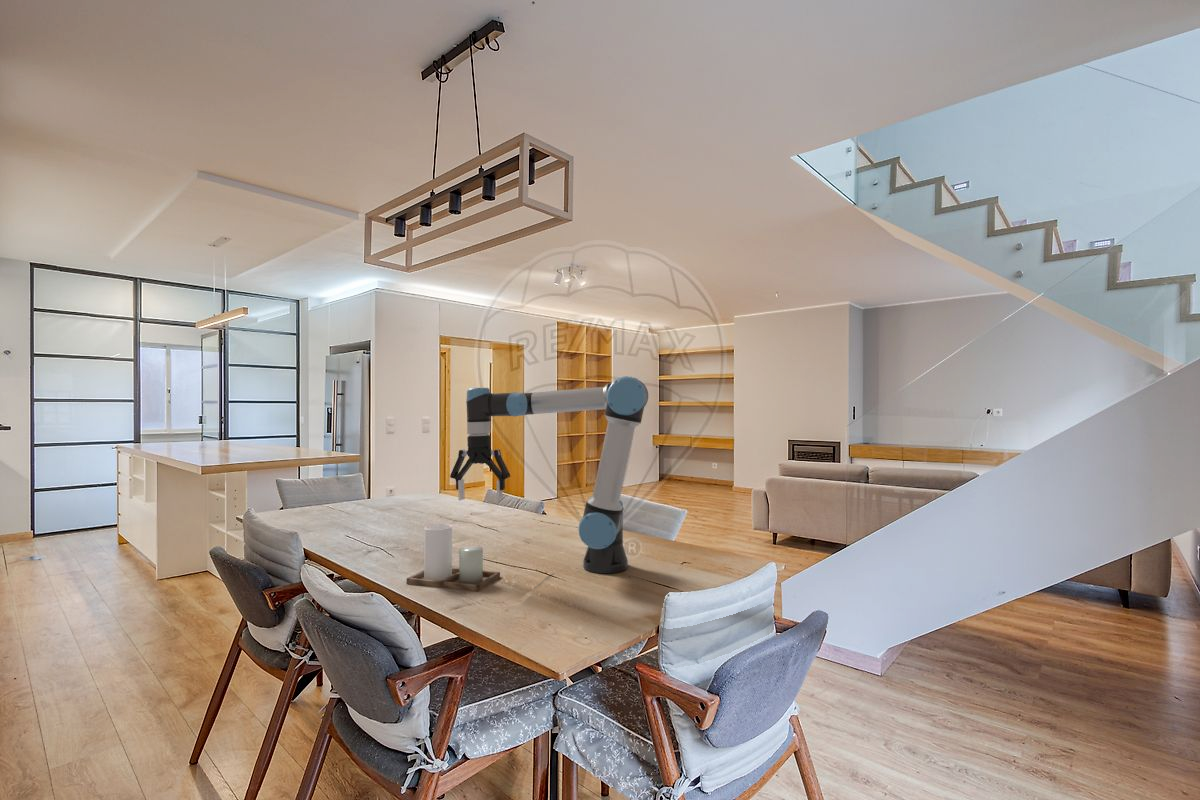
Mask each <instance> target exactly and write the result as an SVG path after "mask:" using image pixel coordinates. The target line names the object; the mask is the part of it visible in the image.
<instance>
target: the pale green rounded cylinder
mask: <svg viewBox="0 0 1200 800" xmlns="http://www.w3.org/2000/svg"><path fill="white" fill-rule="evenodd" d="M458 552H459V555H458V561H459V562H458V565H459V566H458V568H459V583H465V584H475V585H477V584H479V583H481V582H482V581H483V571H484V565H483V564H484V548H483V547H482V546H479V545H478V546H477V545H469V546H464V547H460V548H459V550H458Z"/></svg>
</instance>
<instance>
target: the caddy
mask: <svg viewBox="0 0 1200 800" xmlns="http://www.w3.org/2000/svg"><path fill="white" fill-rule="evenodd" d="M499 578H501V572H500V571H493V570H483V581H482V582H481V583H479V584H477V585H475V584H465V583H459V567H452V576H450V577H449V578H447V579H445V580H443V581H436V580H427V579H424V569H423V570H421V571H419V572H418V573H415V574H413V575H412V576H409V577H407V578H406V584H407V585H412V586H413V585H415V586H425V587H435V588H442V589H443V588H444V589H452V590H453V589H454V590H461V591H471V592H480V591H481V590H483V589H484V588H486V587H487V586H489V585H490V584H492V583H494V582H495V581H496V580H498V579H499Z"/></svg>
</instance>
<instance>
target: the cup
mask: <svg viewBox="0 0 1200 800" xmlns="http://www.w3.org/2000/svg"><path fill="white" fill-rule="evenodd" d="M423 540H424V542H423V543H424V545H423V546H424V549H423V552H424V560H423V561H424V562H423V563H424V564H423V565H424V566H423V570H424V579H427V580H436V581H443V580H445V579H447V578H449V577H450V576H452V568H453V525H451V524H449V523H446V524H445V523H437V524H436V523H435V524H429V525H426V526H425V527H424V539H423Z"/></svg>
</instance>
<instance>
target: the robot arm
mask: <svg viewBox="0 0 1200 800" xmlns="http://www.w3.org/2000/svg"><path fill="white" fill-rule="evenodd" d="M648 400H649V391H648V389H647V386H646V384H644V383H643V381H641V380H639V379H638V378H636V377H632V376H626V375H625V376H622V377H618V378H617V379H615V380H614V381H613V382H612V383H606V385H605V386H601V387H586V388H576V389H575V388H573V389H560V390H550V391H549V390H547V391H538V392H537V391H536V392H524V393H523V392H504V393H503V392H501V393H500V392H499V393H492V392H491V391H490V388H489V387H470V388H468V389H467V390H466V402H465V403H466V428H467V429H466V431H467V432H466V434H467V435H468V436H467V437H466V438H467V440H466V441H467V450H466V449H460V450H458V456H457V460H456V462H455V463H454V466H453V468H452V470H451V473H450V475H449V477H450V479H454V480H455V489H456V490H458V491H457V492H458V501H463V500H465V496H466V495H465V494H466V493H465V478H463V477H464V476H465V475H466V473H467V472H468V471H469V470H470V469H471V466H472V465H473V464H474V465H475V464H480V465H483V464H485V465H487V466H488V468H489V469H490V471H491V472H492V473H493V474H494V476H496V478H497V479H498V480H496V501H497V502H500V501H503V499H504V498H503V497H504V496H503V495H504V494H503V491H504V490H505V489H506V479H509V478H510V477H511V473H510V471H509V469H508V467H507V466H506V464H505V462H504V459H503V457H502V454H501V449H500V448H499V449H498V448H497V449H494V450H492V436H491V435H490V434H491V426H492V425H491V417H521V416H528V415H529V416H530V415H539V414H541V415H542V414H554V413H555V414H556V413H557V414H558V413H571V412H583V411H584V412H585V411H597V410H599V411H600V410H605V412H604V417H605V418H606V419H605V420H607V424H606V425H607V426H606V430H605V434H604V438H603V439H604V441H603V445H602V449H601V454H600V459H599V463H598V468H597V473H596V479H595V481H594V486H593V487H594V488H593V491H592V495H591V496H590V497H589V498H587V499H586V502H585V506H584V510H583V515H582V518H581V520H580V521H579V523H578V534H579V535H578V536H579V538H580V540H581V541H582V543H583V544H584V545H585V546H587V548H586V550H585V551H586V552H585V555H584V557H583V560H582V563H583V564H582V565H583V566H582V567H583V569H584V570H586V571H588V572H591V573H597V574H616V573H621V572H624V571H626V570H628V568H629V560H628V556H627V554H626V550H625V547H624V544H623V543H624V527H623V526H624V525H623V524H624V503H623V501H622V500H621V495H622V490H623V484H624V480H625V475H626V470H627V466H628V463H629V458H630V453H631V447H632V443H633V442H632V441H633V438H634V434H635V429H636V427H639V426H640V425H641V423H642V419H643V415H644V410H645V408H646V405H647V403H648ZM466 456H467V457H468V459H467V460H466V462H465V464H464V465H463V463H464V461H465V458H466ZM492 456H493V457H494V458H495V459H494V460H495V461H496V463H497V465H498V466H497V465H496V464H495V462H494V460H493V458H492ZM462 465H463V466H462ZM461 467H462V468H461Z"/></svg>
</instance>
